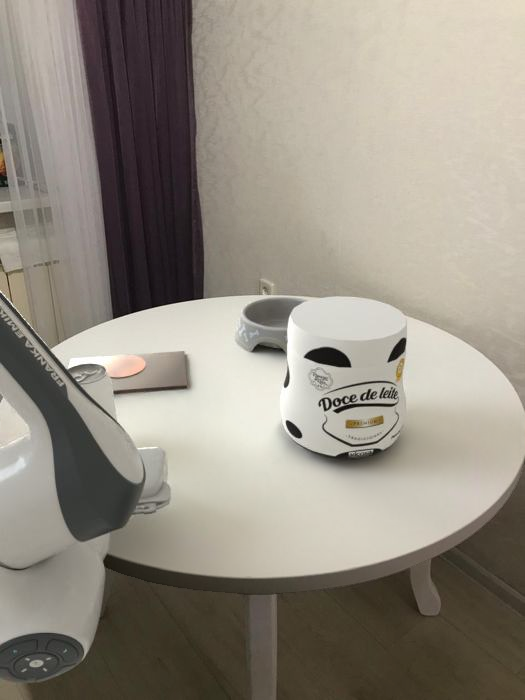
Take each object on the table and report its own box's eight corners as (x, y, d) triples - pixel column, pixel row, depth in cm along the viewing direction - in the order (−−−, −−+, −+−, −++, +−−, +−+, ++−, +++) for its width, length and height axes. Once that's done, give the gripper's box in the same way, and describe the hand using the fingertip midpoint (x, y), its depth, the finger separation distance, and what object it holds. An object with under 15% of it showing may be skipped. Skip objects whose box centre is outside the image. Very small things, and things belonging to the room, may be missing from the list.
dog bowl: (318, 362, 104) (320, 334, 102) (222, 348, 109) (221, 322, 107) (337, 326, 119) (339, 301, 116) (251, 315, 124) (251, 291, 121)
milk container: (359, 488, 73) (370, 358, 65) (254, 437, 83) (253, 319, 75) (424, 429, 85) (440, 313, 77) (325, 391, 95) (331, 285, 87)
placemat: (60, 398, 93) (59, 394, 93) (71, 361, 104) (70, 357, 104) (187, 388, 96) (187, 384, 95) (184, 353, 107) (184, 350, 107)
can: (130, 446, 81) (121, 368, 76) (96, 471, 76) (83, 390, 71) (95, 432, 84) (84, 357, 79) (60, 456, 79) (46, 377, 74)
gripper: (169, 485, 59) (168, 412, 71) (-48, 505, 56) (-11, 426, 68) (173, 533, 62) (171, 455, 74) (-34, 555, 59) (0, 470, 71)
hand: (82, 441), depth 71 cm, fingers open, 8 cm apart
